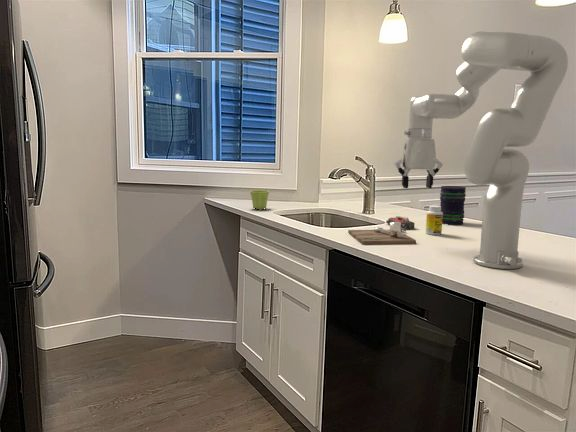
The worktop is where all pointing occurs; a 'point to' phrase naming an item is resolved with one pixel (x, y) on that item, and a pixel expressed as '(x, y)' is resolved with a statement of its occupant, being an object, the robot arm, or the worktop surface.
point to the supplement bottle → (434, 220)
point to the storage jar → (452, 204)
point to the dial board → (379, 237)
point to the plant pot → (259, 198)
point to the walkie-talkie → (402, 222)
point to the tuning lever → (391, 229)
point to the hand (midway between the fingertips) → (417, 187)
